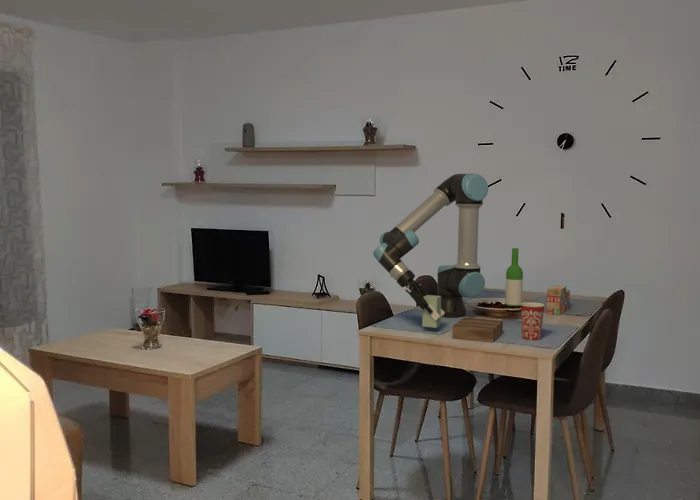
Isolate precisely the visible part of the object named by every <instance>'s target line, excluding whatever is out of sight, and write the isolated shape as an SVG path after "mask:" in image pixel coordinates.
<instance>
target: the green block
mask: <svg viewBox="0 0 700 500" xmlns="http://www.w3.org/2000/svg"><path fill="white" fill-rule="evenodd" d="M423 298H424V299H425V300H426V302H427V303H428V305H429V304H430V305H431V306H432V307H433V308H434V309H435V311H436V312H437V313H438V314H439V315H440V317H439V318H438V319H437V320H436V321H435V320H434V319H433V318H432V316H431V315H430V314H429V313H428V312H427V311H426V310H425V308H424V309H423V310H422V312H421V313H422V314H421V315H422V321H421V322H422V323H421V324H422V327H425V328H435V329H437V328H438V327H440V326H441V325H442V324H441V323H442V316H441V296H437V295H432V294H431V295H426V296H424V297H423Z"/></svg>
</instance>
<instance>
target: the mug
mask: <svg viewBox="0 0 700 500" xmlns="http://www.w3.org/2000/svg"><path fill="white" fill-rule="evenodd" d="M544 310H545V304H543V303H541V302H540V303H539V302H533V301H532V302H531V301H528V302H522V303H521V311H520V313H521V337H522V339H524V340H528V341H540V340H541V338H542V330H543V321H544Z"/></svg>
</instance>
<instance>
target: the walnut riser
mask: <svg viewBox="0 0 700 500" xmlns="http://www.w3.org/2000/svg"><path fill="white" fill-rule="evenodd" d="M503 328H504V321H503V320H497V319H495V320H494V319H486V318H473V317H465V316H463V318H461V319H460V320H458V321H457V322H455V324H453V325H452V331H451V333H452V335H451V339H452V340H453V339H454V340H456V339H457V340H462V341H463V340H464V341H474V342H482V343H483V342H484V343H492V344H494V342H495V341H496V340H497V339H498V338H499V337H500V336H501V335H502V334H503V333H504V332H503Z"/></svg>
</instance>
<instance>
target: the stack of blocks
mask: <svg viewBox="0 0 700 500" xmlns="http://www.w3.org/2000/svg"><path fill="white" fill-rule="evenodd" d="M570 293H571V292H570V289H568V288H567V286H566V285H559V284H558V285H554V284H553V285H552V286H550V287H548V288H547V290H546V315H551V316H552V315H553V316H554V315H555V316H561V315H562V314H564V313H565V312H566V311H568V310H569V309H570V303H571V301H570V298H571V296H570V295H571V294H570Z"/></svg>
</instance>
